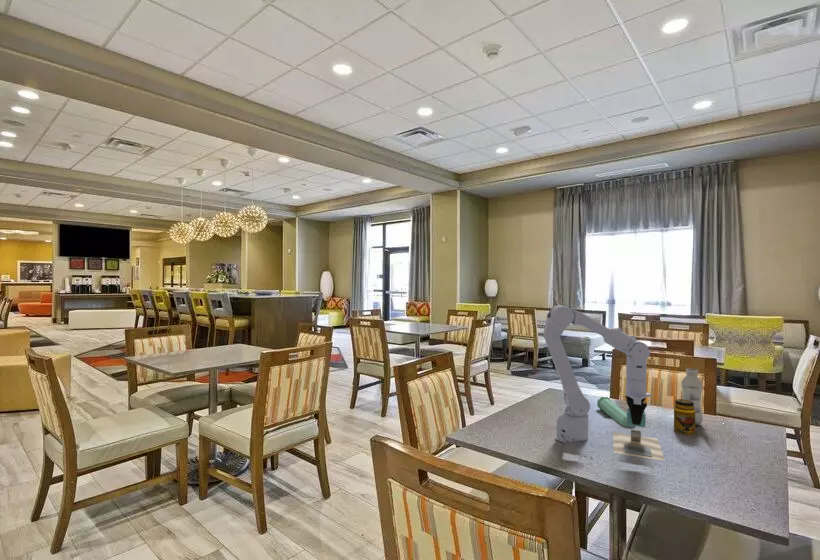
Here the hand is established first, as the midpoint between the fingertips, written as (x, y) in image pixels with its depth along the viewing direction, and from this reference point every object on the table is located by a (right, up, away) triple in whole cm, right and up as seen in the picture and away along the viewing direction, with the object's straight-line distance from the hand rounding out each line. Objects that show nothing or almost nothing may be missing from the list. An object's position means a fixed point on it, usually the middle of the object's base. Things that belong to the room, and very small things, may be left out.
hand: (635, 421), depth 136 cm
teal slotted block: (0, -1, 0) cm, 1 cm away
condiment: (+20, -8, +9) cm, 24 cm away
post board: (-2, -7, -4) cm, 9 cm away
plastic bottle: (+31, -8, +21) cm, 38 cm away
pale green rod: (+6, -8, +25) cm, 27 cm away
